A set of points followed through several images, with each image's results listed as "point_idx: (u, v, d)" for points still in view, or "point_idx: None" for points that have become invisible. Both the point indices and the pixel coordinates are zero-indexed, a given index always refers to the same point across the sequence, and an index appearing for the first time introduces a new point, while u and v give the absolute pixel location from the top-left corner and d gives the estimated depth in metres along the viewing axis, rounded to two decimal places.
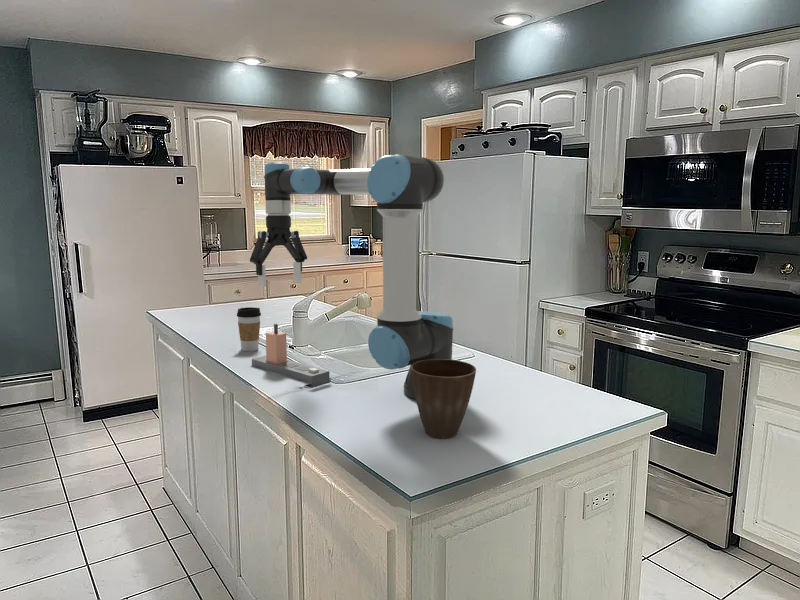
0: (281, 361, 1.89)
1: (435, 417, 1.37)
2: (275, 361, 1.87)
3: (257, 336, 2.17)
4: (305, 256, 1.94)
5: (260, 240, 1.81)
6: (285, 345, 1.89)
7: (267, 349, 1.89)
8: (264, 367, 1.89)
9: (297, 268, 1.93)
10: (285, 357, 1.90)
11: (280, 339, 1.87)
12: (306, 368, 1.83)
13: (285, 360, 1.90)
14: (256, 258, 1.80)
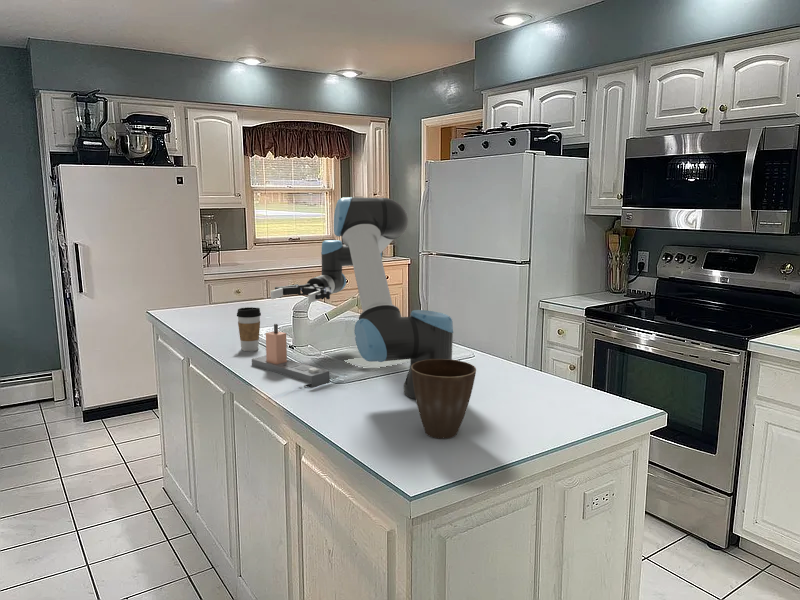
0: (281, 361, 1.89)
1: (435, 417, 1.37)
2: (275, 361, 1.87)
3: (257, 336, 2.17)
4: (328, 291, 2.00)
5: None
6: (285, 345, 1.89)
7: (267, 349, 1.89)
8: (264, 367, 1.89)
9: None
10: (285, 357, 1.90)
11: (280, 339, 1.87)
12: (306, 368, 1.83)
13: (285, 360, 1.90)
14: (277, 287, 2.06)
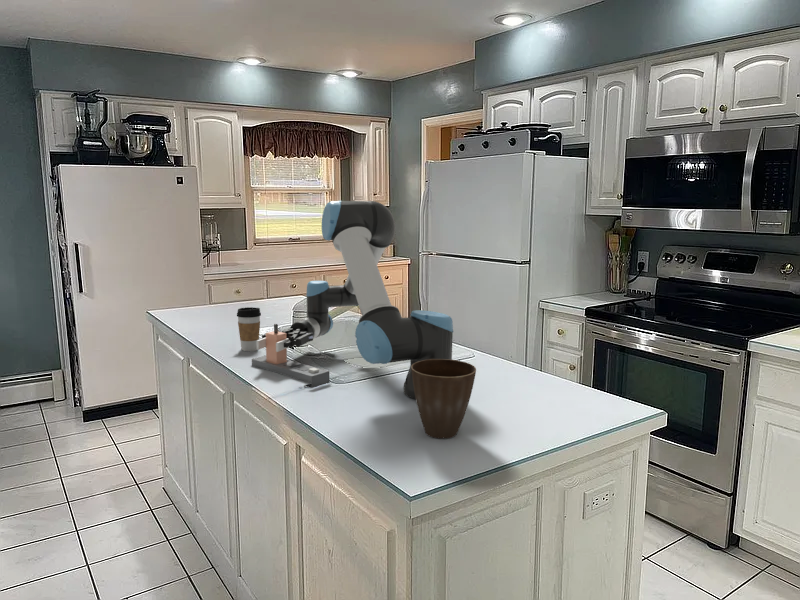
0: (281, 361, 1.89)
1: (435, 417, 1.37)
2: (275, 361, 1.87)
3: (257, 336, 2.17)
4: (298, 338, 1.90)
5: None
6: None
7: (267, 349, 1.89)
8: (264, 367, 1.89)
9: None
10: (285, 357, 1.90)
11: (280, 339, 1.87)
12: (306, 368, 1.83)
13: (285, 360, 1.90)
14: (264, 334, 1.94)
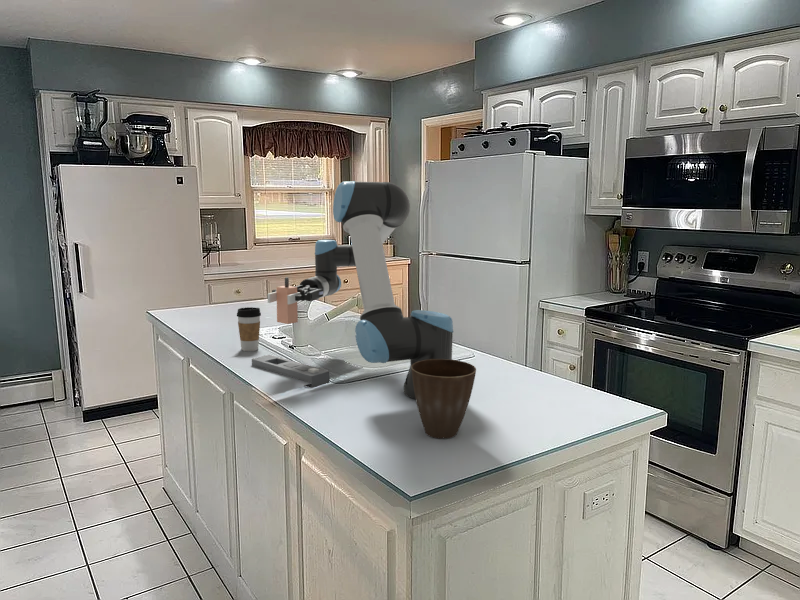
0: (292, 315, 1.87)
1: (435, 417, 1.37)
2: (286, 314, 1.86)
3: (257, 336, 2.17)
4: (309, 292, 1.89)
5: None
6: None
7: (278, 303, 1.88)
8: (264, 367, 1.89)
9: None
10: (296, 311, 1.88)
11: (291, 293, 1.86)
12: (306, 368, 1.83)
13: (296, 314, 1.88)
14: None
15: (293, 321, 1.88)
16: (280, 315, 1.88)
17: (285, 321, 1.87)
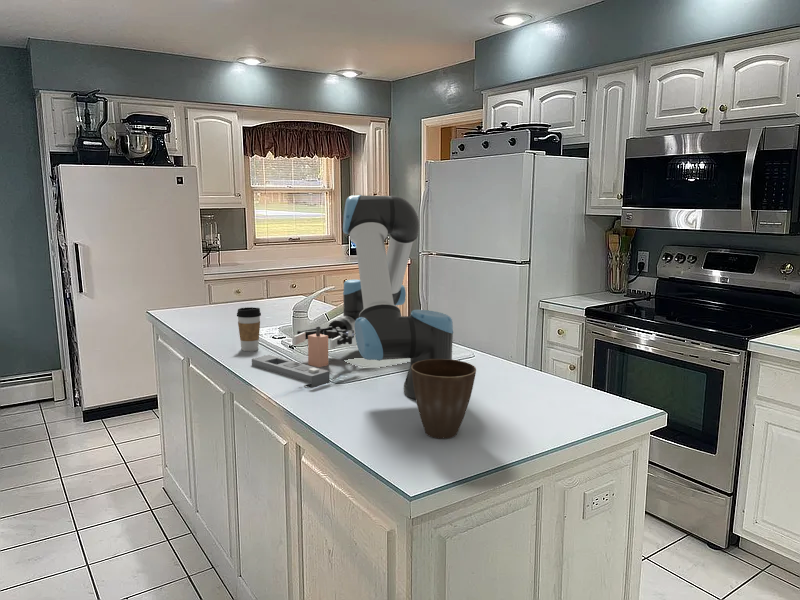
0: (323, 363, 1.93)
1: (435, 417, 1.37)
2: (318, 363, 1.92)
3: (257, 336, 2.17)
4: (350, 335, 1.94)
5: None
6: (327, 347, 1.94)
7: (309, 351, 1.94)
8: (264, 367, 1.89)
9: None
10: (327, 359, 1.94)
11: (322, 342, 1.92)
12: (306, 368, 1.83)
13: (327, 362, 1.94)
14: (300, 330, 2.01)
15: None
16: (311, 363, 1.94)
17: None
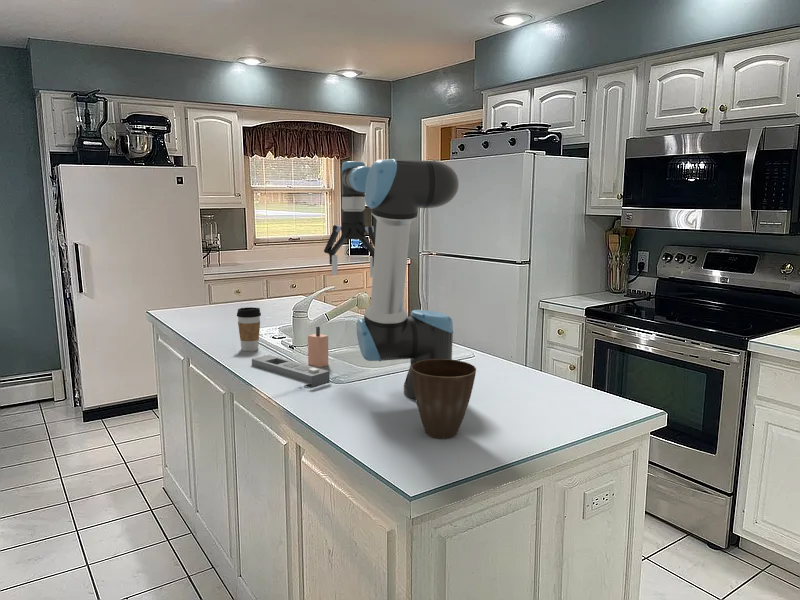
0: (323, 363, 1.93)
1: (435, 417, 1.37)
2: (318, 363, 1.92)
3: (257, 336, 2.17)
4: None
5: None
6: (327, 347, 1.94)
7: (309, 351, 1.94)
8: (264, 367, 1.89)
9: None
10: (327, 359, 1.94)
11: (322, 342, 1.92)
12: (306, 368, 1.83)
13: (327, 362, 1.94)
14: (325, 249, 2.01)
15: None
16: (311, 363, 1.94)
17: None
